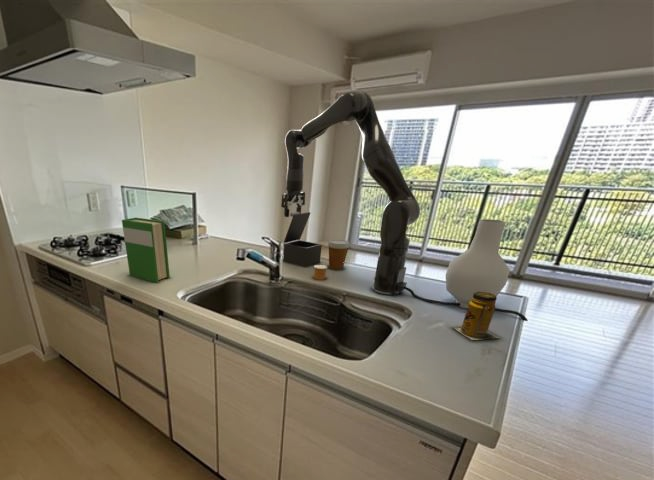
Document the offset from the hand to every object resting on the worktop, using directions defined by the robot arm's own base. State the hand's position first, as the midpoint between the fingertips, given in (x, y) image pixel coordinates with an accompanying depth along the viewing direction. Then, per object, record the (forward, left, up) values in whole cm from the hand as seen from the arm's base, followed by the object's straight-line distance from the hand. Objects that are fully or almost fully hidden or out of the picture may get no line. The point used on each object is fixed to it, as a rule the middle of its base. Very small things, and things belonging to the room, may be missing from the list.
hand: (292, 215), depth 161 cm
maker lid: (-3, 0, -5) cm, 6 cm away
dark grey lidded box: (-7, 0, -21) cm, 22 cm away
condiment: (-88, +22, -21) cm, 93 cm away
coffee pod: (-28, +14, -21) cm, 38 cm away
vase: (-79, +1, -21) cm, 82 cm away
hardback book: (+23, +67, -21) cm, 74 cm away
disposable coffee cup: (-24, -4, -21) cm, 33 cm away
